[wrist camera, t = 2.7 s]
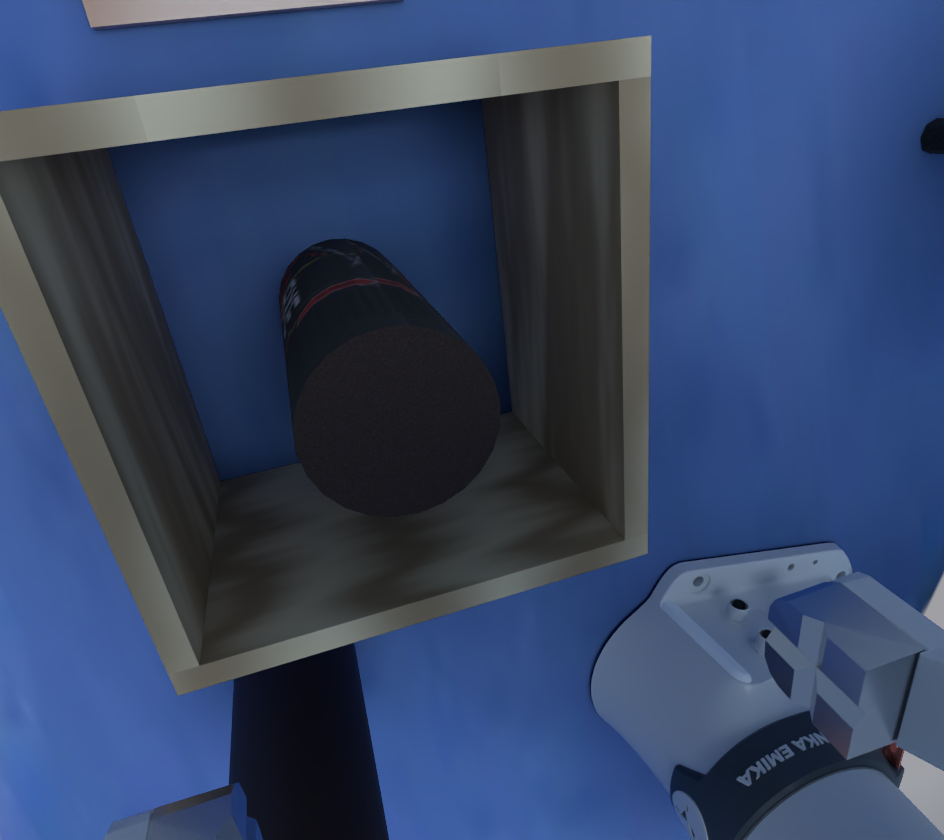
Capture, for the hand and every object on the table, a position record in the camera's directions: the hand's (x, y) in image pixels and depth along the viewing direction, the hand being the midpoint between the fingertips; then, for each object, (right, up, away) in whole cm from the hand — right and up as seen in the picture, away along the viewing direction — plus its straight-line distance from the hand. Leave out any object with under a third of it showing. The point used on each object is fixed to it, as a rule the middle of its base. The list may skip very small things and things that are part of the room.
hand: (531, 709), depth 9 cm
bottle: (-12, -9, +30) cm, 33 cm away
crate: (-7, +10, +22) cm, 25 cm away
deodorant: (-7, +10, +22) cm, 25 cm away
